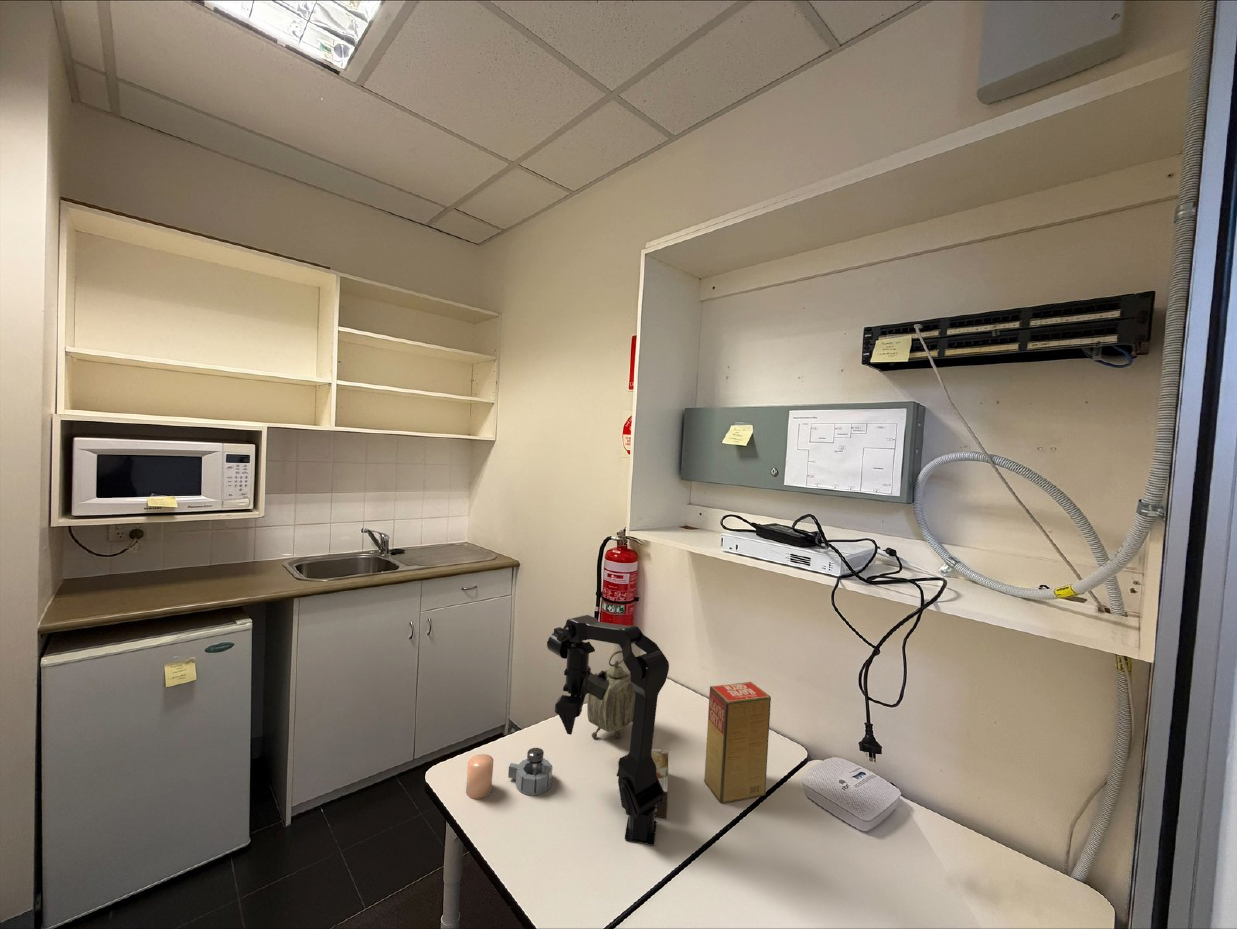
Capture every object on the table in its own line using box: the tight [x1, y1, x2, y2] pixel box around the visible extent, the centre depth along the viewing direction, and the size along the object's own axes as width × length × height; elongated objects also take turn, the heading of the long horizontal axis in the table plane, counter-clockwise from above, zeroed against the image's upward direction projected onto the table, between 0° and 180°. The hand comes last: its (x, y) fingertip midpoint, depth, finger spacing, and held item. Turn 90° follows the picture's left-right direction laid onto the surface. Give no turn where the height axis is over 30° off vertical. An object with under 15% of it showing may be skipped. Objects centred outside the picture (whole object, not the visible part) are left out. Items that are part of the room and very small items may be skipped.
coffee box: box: [651, 748, 670, 819], centre depth 119 cm, size 9×6×16 cm
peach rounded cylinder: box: [465, 753, 494, 800], centre depth 116 cm, size 6×6×7 cm
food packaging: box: [703, 681, 772, 804], centre depth 123 cm, size 13×9×25 cm
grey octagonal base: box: [507, 757, 553, 796], centre depth 120 cm, size 9×11×4 cm
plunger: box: [526, 747, 545, 775], centre depth 120 cm, size 4×4×7 cm
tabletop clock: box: [586, 649, 636, 739], centre depth 143 cm, size 14×9×25 cm, turn 139°
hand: (573, 724), depth 125 cm, fingers open, 9 cm apart
